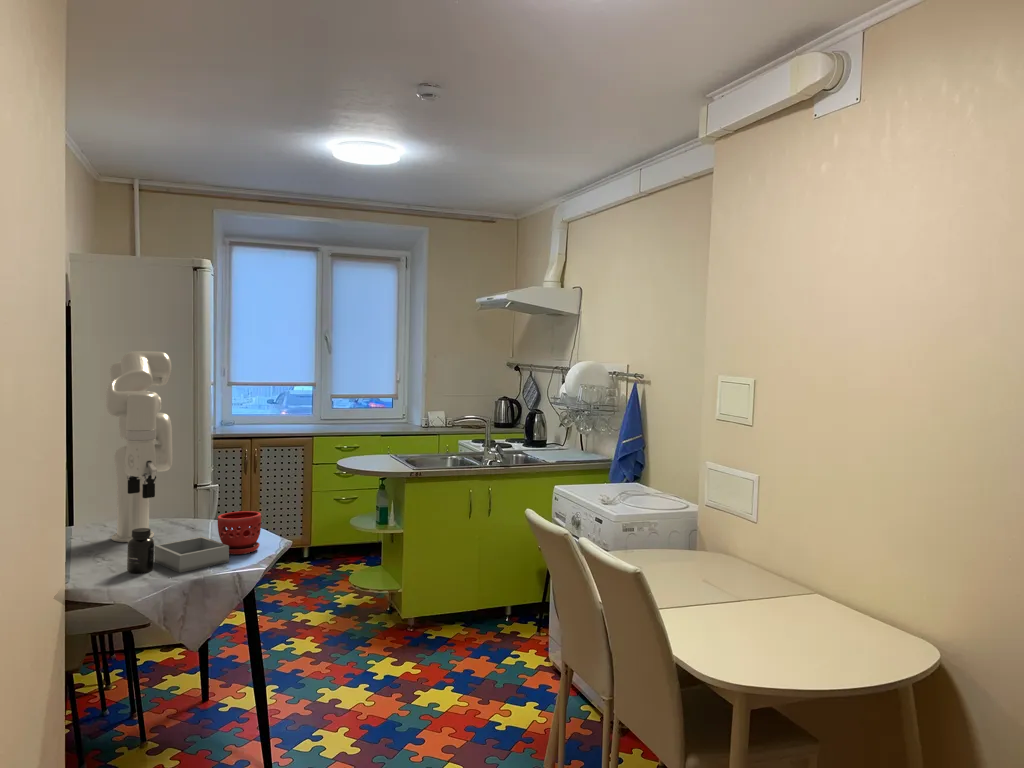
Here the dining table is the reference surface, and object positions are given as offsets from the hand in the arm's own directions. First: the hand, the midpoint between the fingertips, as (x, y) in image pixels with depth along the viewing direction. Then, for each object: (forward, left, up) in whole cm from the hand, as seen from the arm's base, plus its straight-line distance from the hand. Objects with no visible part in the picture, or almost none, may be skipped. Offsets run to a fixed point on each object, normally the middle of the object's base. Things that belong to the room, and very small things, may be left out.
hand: (141, 495), depth 202 cm
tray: (+2, +14, -22) cm, 26 cm away
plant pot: (+1, +30, -22) cm, 37 cm away
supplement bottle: (0, 0, -22) cm, 22 cm away
